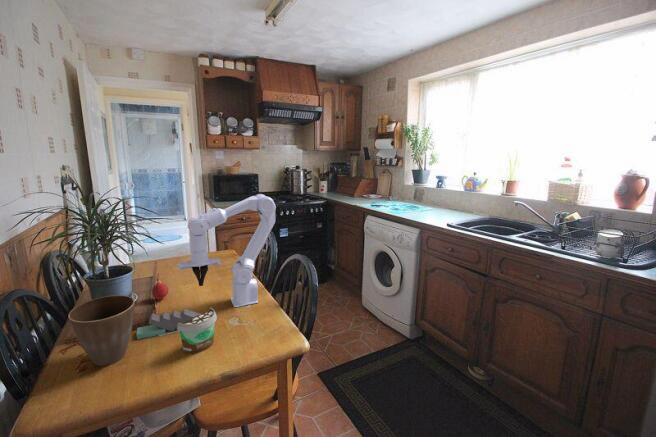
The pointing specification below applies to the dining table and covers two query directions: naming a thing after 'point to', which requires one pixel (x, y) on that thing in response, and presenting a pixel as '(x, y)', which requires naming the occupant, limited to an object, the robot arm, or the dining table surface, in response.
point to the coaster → (170, 332)
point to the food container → (198, 332)
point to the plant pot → (104, 327)
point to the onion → (160, 291)
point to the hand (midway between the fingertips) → (201, 284)
